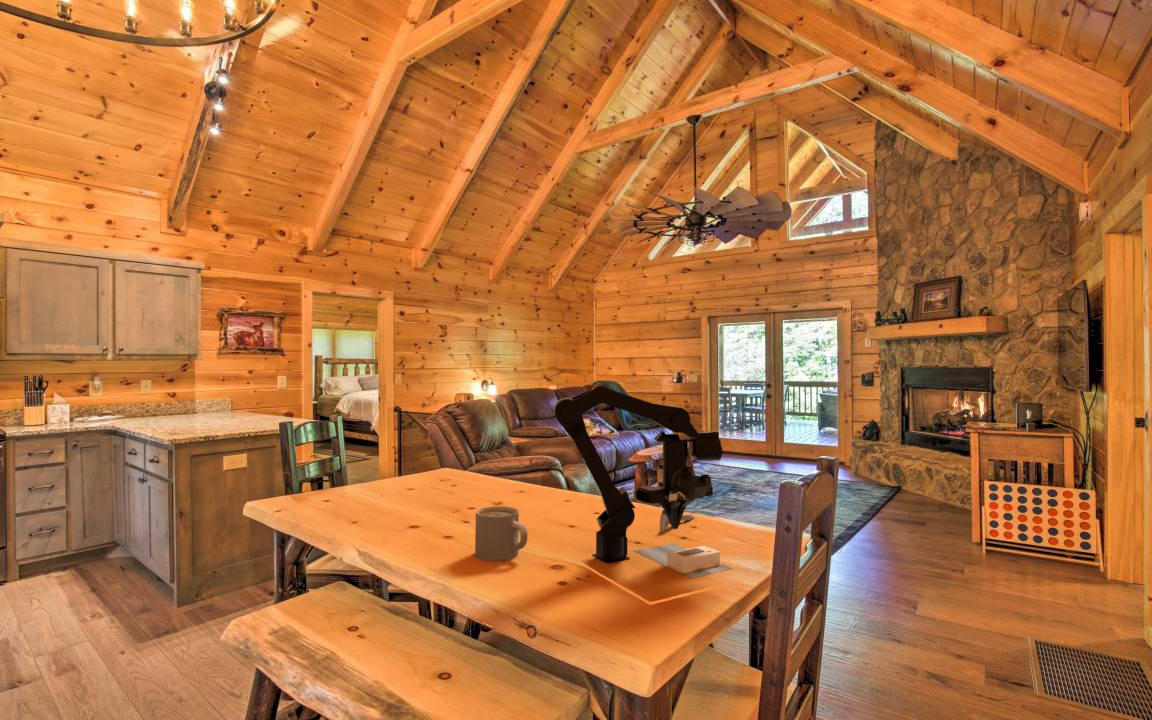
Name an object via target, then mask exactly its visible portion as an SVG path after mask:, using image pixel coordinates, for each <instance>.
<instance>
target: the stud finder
mask: <svg viewBox="0 0 1152 720" xmlns="http://www.w3.org/2000/svg"><path fill="white" fill-rule="evenodd" d="M685 549H686V550H682V551H677V552H672V553H668V554H667V565H668V566H671V567H673V568H675V569H677V570H680V571H682V572H686V571H690V570H694V569H698V568H702V567H706V566H710V565H714V564H718V563H721V551H719V550H716V549H714V548H712V547H708V546H706V545H699V546H696V547H695V546H694V547H691V548H685Z"/></svg>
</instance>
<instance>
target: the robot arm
mask: <svg viewBox="0 0 1152 720" xmlns="http://www.w3.org/2000/svg"><path fill="white" fill-rule="evenodd" d="M600 404H604V405H607V406H611V407H613V408H616V409H619V410H622V411H625V412H628V413H630V414H631V413H632V414H635V415H637V416H641V417H644V418H647V419H648V420H650V421H652V422H654V423H655V424H658V425H659V426H661V427H663V428H665V429H667V430H669V431H671V432H673V433H666V432H665V431H663V430H659V433H658V434H656V435H655V436H654V437H653V440H655V442H657V443H662V463H659V465H658V468H659V469H660V470H662V481H659V482H658V486H659V487H656V486H653V485H645V486H639V487H638V488H637V489H636V490H635V499H636V500H637V501H641V502H643V503H647V504H649V505H655V504H660V506H661V507H662V510H664V511H665V513H666V515H667V518H668V520H669V522H670V527H671V528H672V529H673V530H678V529H679V526H680V524H681V518H682V515H684V513H685V510H686V508H687V506H689V505H690V504H692V503H693V502H695V500H696V499H697V500H698V499H704V498H705V497H710V496H713V495H714V494H713V491H714V487H713V486H712V477H711V476H710V474H707V473H706V474H700V475H694V473H693V468H692V466H691V465H689V463H688V462H689V460H688V459H689V457H692V458H693V460H694V461H695V462H698V461H699V462H701V461H702V462H703V461H709V462H711V461H712V462H713V461H716V462H718V461H721V459H722V457H723V447H722V442H721V439H720V435H719V434H720V433H719V432H718V431H717V430H710V431H697V429H696V428H695V426H694V425H693V424H692V422H691V415H690V413H689V412H688V410H687V409H685V408H684V407H680V406H677V405H676V406H675V405H671V404H663V403H656V402H649V401H646V400H643V399H641V398H637V397H635V396H631V395H628V394H626V393H622V392H619V391H617V390H613V389H611V388H608V387H606V386H604V385H602V384H597V385H594V386H593V387H592V388H590V389H588V390H585V391H584V392H582V393H579V394H577V395H575V396H573V397H561V398H559V399H558V400H557V401H556V402H555V404H554V407H553V413H554V416H555V418H556V420H557V422H558V423H560V426H561V427H562V428H563V429H564V431H565V432H566V433H567V435H569V436H570V438H571V440H573V442H574V444H575V446H576V448H577V450H578V452H579V453H580V455H581V457H582V459H583V461H584V463H585V465H586V467H587V469H588V471H589V473H590V475H591V477H592V478H593V481H595V484H596V486H597V488H598V491H599V492H600V496H601V499H602V503H603V507H604V511H602V513H600V514H599V516H598V517H597V518H596V520H597V521H596V522H597V524H598V527H599V529H600V530H597V531H596V533H595V535H596V536H595V537H596V538H595V540H596V541H595V553H593V554H592V555H591V556H592V557H594V558H596V559H598V560H599V561H601V562H603V563H605V564H608V565H609V564H614V563H618V562H622V561H624V562H625V561H628V560H631V557H629V556H628V546H629V545H628V539H629V538H628V536H627V530H628V528H629V527H630V526H632V525H633V523H634V520H635V517H636V515H635V511H634V509H636V505H634V503H633V502H632V500H631V499H630V497H629V493H628V491H627V490H626V489H625V487H624V486H621V487H619V488H618V487H617V486H616V485H615V482H614V481H613V479H612V477H611V475H610V474H609V472H608V470H607V467H606V466H605V464H604V461H603V460H602V458H601V456H600V455H599V453H598V451H597V448H596V447H595V445H594V443H593V441H592V439H591V438H590V436H589V434H588V431H587V428H586V423H585V420H584V417H583V414H584V413H586V412H588V411H590V410H591V409H593V408H595V407H596V406H598V405H600ZM679 433H680V434H682V435H684V436H687V437H680V435H679Z"/></svg>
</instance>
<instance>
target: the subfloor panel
mask: <svg viewBox="0 0 1152 720" xmlns="http://www.w3.org/2000/svg"><path fill="white" fill-rule="evenodd" d="M686 549H687V548H685V547H682V546H680V545H677V544H675V543H671V542H670V543H667V544H663V545H662V544H661V545H656V546H652V547H646V548H642V549H636V550H633V552H634V553H636V554H638V555H641V556H643V557H645V558H647V559H649V560H650V561H651V560H652V561H654V562H655V563H657V564H660V565H662V566H663V567H666V568H668V569H670V570H672V571H674V572H677V573H678V574H680V575H683V576H685V577H687V578H688V579H696V578H700V577H703V576H707V575H712V574H717V573H721V572H725V571H728V570H729V571H730V570H733V567H731V566H728V565H726V564H723V563H722V562H720V563H718V564H714V565H710V566H706V567H702V568H698V569H694V570H690V571H686V572H682V571H680V570H677V569H675V568H673V567H671V566H668V565H667V554H668V553H672V552H677V551H682V550H686Z"/></svg>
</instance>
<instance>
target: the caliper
mask: <svg viewBox="0 0 1152 720" xmlns="http://www.w3.org/2000/svg"><path fill="white" fill-rule="evenodd" d="M691 516H693V517H691ZM695 518H696V517H695V516H694V515H693V514H683V515H682V518H681V521H683V522H684V521H692V520H694V519H695ZM691 519H692V520H691ZM681 521H680V522H681ZM669 524H670V522H669V520H668V518H667V515H666V513H665V511H664V509H662V510H661V514H660V517H659V532H660V533H664V532H665V531H668V529H669ZM670 525H671V524H670Z"/></svg>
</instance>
